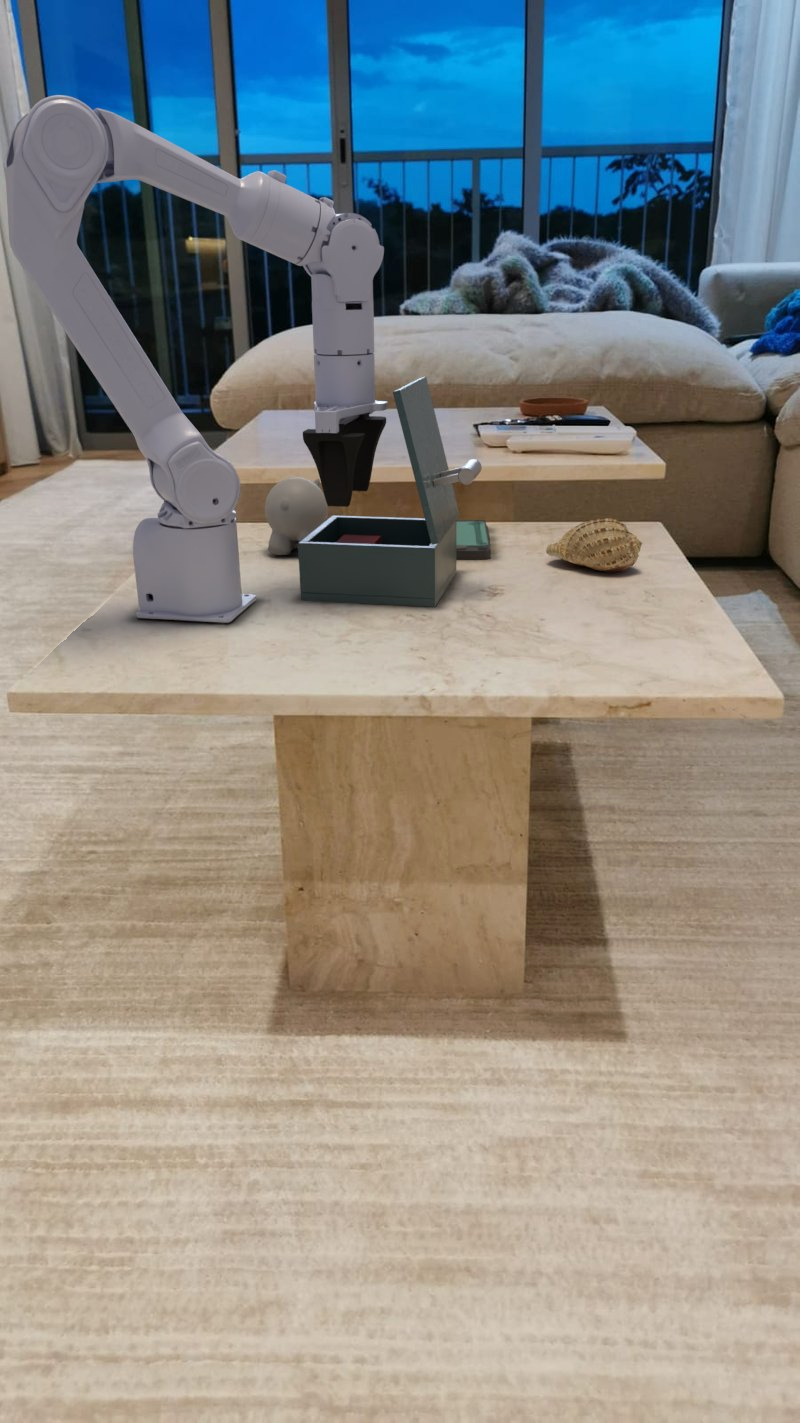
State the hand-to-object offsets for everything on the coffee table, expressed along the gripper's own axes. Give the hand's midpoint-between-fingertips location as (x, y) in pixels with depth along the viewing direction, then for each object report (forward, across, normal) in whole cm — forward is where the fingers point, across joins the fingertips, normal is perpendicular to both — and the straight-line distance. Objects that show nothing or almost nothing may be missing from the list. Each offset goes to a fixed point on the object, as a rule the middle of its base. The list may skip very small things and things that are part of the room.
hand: (348, 497), depth 106 cm
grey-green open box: (+9, +2, -3) cm, 10 cm away
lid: (-4, +2, -7) cm, 9 cm away
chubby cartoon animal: (+10, +17, +10) cm, 22 cm away
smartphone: (+10, +21, -8) cm, 24 cm away
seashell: (+10, +13, -24) cm, 29 cm away
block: (+9, +2, 0) cm, 9 cm away
